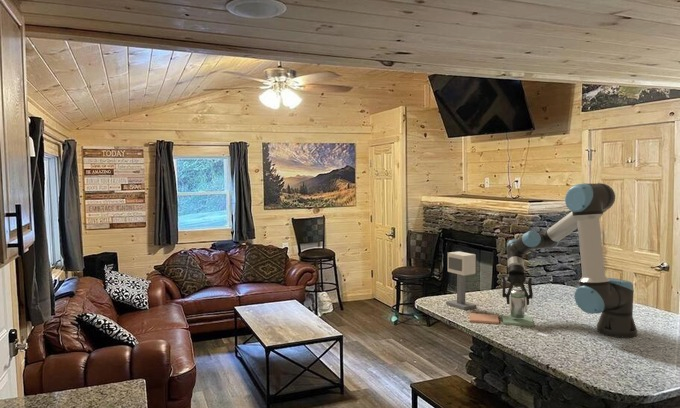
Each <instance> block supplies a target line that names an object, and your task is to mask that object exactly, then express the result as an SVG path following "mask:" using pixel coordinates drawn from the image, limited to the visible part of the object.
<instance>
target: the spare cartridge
mask: <svg viewBox="0 0 680 408" xmlns="http://www.w3.org/2000/svg"><path fill="white" fill-rule="evenodd" d="M510 296H511V307H512V309H511V311H510V316H511V317H513V318H524V317H525V291H523V290H522V289H512V290H511V294H510Z"/></svg>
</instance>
